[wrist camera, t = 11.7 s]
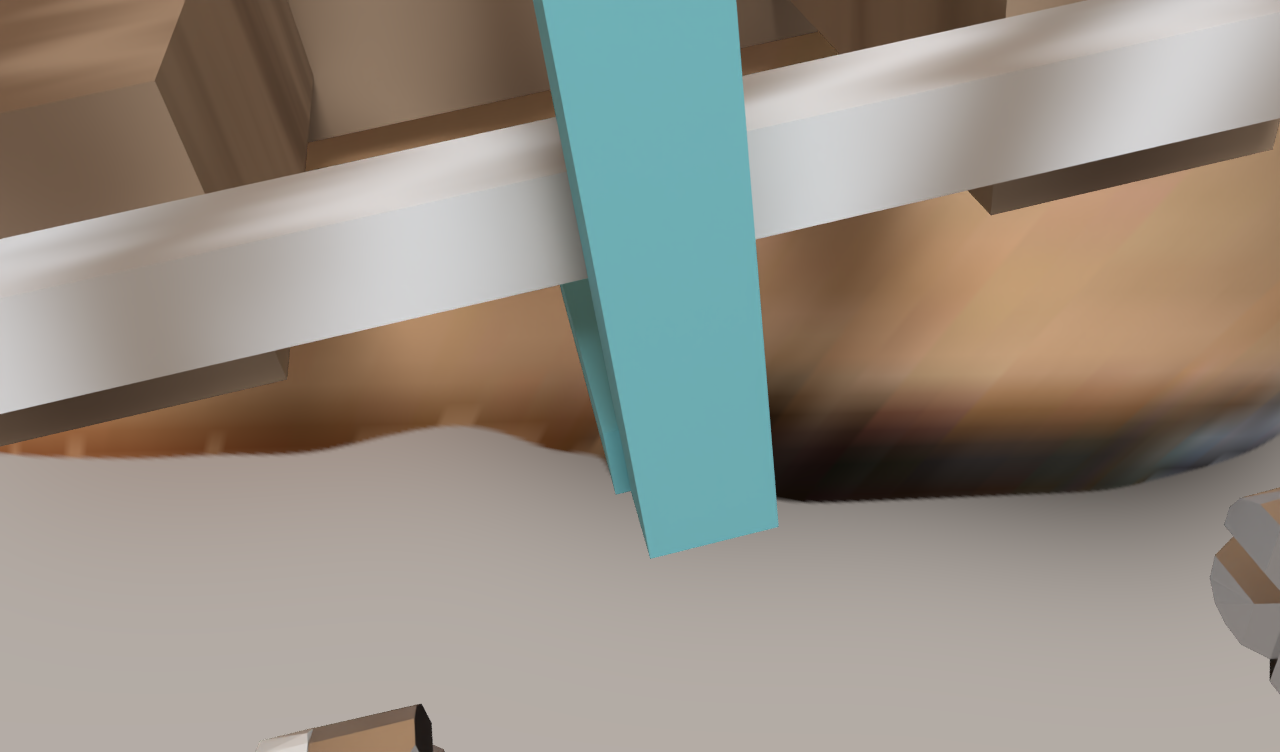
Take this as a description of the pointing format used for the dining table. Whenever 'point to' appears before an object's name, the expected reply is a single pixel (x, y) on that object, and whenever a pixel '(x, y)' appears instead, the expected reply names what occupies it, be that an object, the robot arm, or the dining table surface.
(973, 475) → the dining table surface
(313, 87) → the shelf
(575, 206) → the teal stepped bracket
